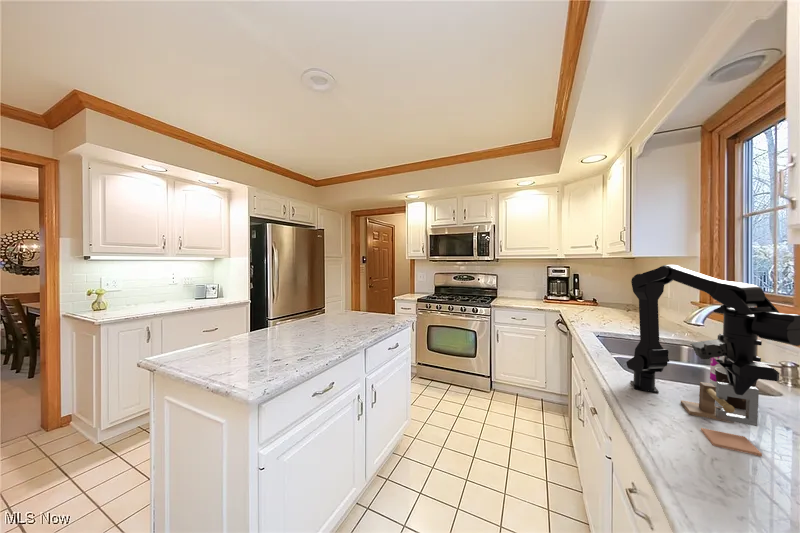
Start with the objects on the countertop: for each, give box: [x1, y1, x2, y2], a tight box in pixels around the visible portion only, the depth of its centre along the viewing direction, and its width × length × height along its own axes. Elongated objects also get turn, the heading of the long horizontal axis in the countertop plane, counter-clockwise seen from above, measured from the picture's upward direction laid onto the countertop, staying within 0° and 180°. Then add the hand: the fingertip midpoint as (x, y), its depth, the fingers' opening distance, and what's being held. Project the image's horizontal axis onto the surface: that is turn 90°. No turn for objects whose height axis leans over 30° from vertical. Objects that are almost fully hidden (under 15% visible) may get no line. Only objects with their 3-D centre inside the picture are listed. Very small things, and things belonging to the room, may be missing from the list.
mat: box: [700, 427, 763, 457], centre depth 72 cm, size 7×8×1 cm
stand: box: [680, 381, 736, 424], centre depth 81 cm, size 16×9×9 cm, turn 151°
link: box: [715, 382, 760, 427], centre depth 75 cm, size 2×7×10 cm, turn 61°
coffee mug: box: [715, 367, 758, 411], centre depth 89 cm, size 12×9×10 cm
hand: (737, 393), depth 75 cm, fingers closed on link, 1 cm apart
